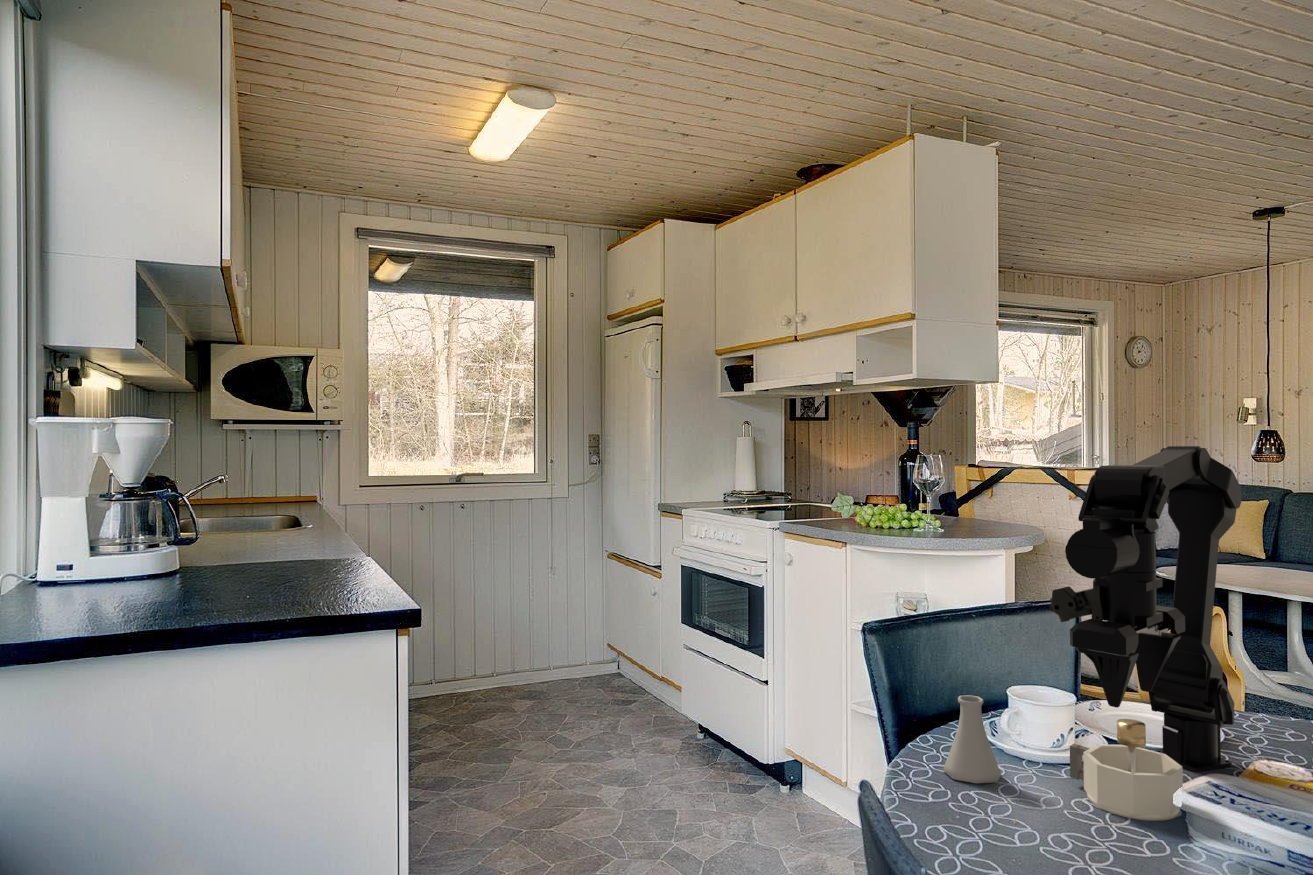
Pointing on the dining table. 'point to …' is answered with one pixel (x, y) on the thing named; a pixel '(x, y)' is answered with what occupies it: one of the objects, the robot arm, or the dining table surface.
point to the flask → (971, 746)
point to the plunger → (1131, 738)
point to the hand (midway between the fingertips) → (1130, 698)
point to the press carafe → (1128, 781)
